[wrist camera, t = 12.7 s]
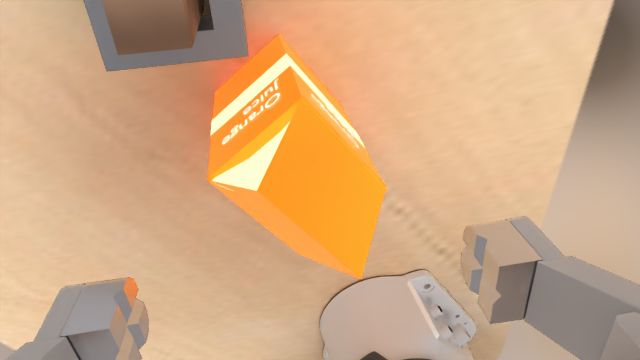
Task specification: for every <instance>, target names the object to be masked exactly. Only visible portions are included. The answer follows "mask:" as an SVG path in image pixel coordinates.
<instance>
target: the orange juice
mask: <svg viewBox="0 0 640 360" xmlns="http://www.w3.org/2000/svg"><path fill="white" fill-rule="evenodd" d="M210 135H211V142H210V153H209V164H208V175H207V179H208V180H207V181H208V182H210V183H211V184H212V185H213V186H215V187H216V188H217V189H218V190H220V191H221V192H222V193H223V194H225V195H226V196H227V197H228V198H230V199H231V200H232V201H233V202H235V203H236V204H237V205H238V206H240V207H241V208H242V209H243V210H245V211H246V212H247V213H248V214H250V215H251V216H252V217H253V218H255V219H256V220H257V221H258V222H260V223H261V224H262V225H263V226H265V227H266V228H267V229H268V230H270V231H271V232H272V233H273V234H275V235H276V236H277V237H278V238H279V239H281V240H282V241H283V242H284V243H286V244H287V245H288V246H289V247H291V248H292V249H293V250H294V251H296V252H297V253H298V254H300V255H303V256H305V257H308V258H310V259H312V260H315V261H317V262H320V263H322V264H325V265H327V266H330V267H332V268H335V269H337V270H339V271H342V272H344V273H347V274H349V275H352V276H354V277H357V278H359V279H361V277H362V273H363V270H364V266H365V262H366V259H367V255H368V252H369V248H370V244H371V241H372V237H373V233H374V230H375V226H376V222H377V219H378V215H379V212H380V208H381V204H382V201H383V197H384V193H385V191H386V190H387V188H386V185H385V184H384V182H383V181H382V179H381V177H380V175H379V173H378V171H377V170H376V168H375V166H374V164H373V162H372V160H371V159H370V157H369V155H368V153H367V151H366V149H365V146H364V145H363V143H362V141H361V139H360V137H359V135H358V134H357V132H356V131H355V129H354V127H353V126H352V124H351V122H350V120H349V118H348V116H347V115H346V113H345V111H344V109H343V107H342V105H341V104H340V103H339V102H338V101H337V100H336V99H335V97H334V96H333V95H332V94H331V93H330V92H329V91H328V89H327V88H326V87H325V86H324V85H323V84H322V83H321V82H320V80H319V79H318V78H317V77H316V76H315V75H314V74H313V72H312V71H311V70H310V69H309V68H308V67H307V66H306V64H305V63H304V62H303V61H302V60H301V59H300V58H299V56H298V55H297V54H296V53H295V52H294V51H293V50H292V48H291V47H290V46H289V45H288V44H287V43H286V42H285V40H284V39H283V38H282V37H281V36H280V35H279V34H278V35H277V36H276V37H275V38H274V39H273V40H272V41H271V42H270V43H268V44H267V45H266V46H265V47H264V48H263V49H262V50H261V51H260V52H259V53H258V54H256V55H255V56H254V57H253V58H252V59H251V60H250V61H249V62H248V63H247V64H246V65H244V66H243V67H242V68H241V69H240V70H239V71H238V72H237V73H236V74H235V75H234V76H232V77H231V78H230V79H229V80H228V81H227V82H226V83H225V84H224V85H223V86H222V87H220V88H219V89H218V90H217V91H216V92H215V98H214V109H213V120H212V123H211V133H210Z"/></svg>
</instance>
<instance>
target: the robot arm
mask: <svg viewBox="0 0 640 360" xmlns="http://www.w3.org/2000/svg"><path fill="white" fill-rule="evenodd" d="M463 240H464V242H465V243H466V245H467V247H466V248H465V249H464V251H463V252H462V253H461V268H462V274H463V277H464V279H465V282H466V284H467V286H468V287H469V289H470V290H471V291H473V292H475V293H477V294H478V295H479V296H478V305H479V306H480V308H481V310H482V311H483V313H484V315H485V316H486V318H487V320H488V321H489V323H490V324H493V323H500V322H507V321H514V320H522V319H525V322H527V323H528V324H530V325H531V326H533V327H534V328H536V329H537V330H538V331H540V332H541V333H543V334H544V335H546V336H547V337H549V338H550V339H552V340H553V341H554V342H556V343H557V344H559V345H560V346H562V347H563V348H564V349H566V350H567V351H569V352H570V353H572V354H573V355H575V356H576V357H577V358H579V359H580V360H640V285H639V284H637V283H634V282H632V281H630V280H627V279H624V278H622V277H620V276H618V275H615V274H613V273H611V272H608V271H606V270H604V269H601V268H599V267H596V266H594V265H592V264H589V263H587V262H585V261H582V260H580V259H577V258H575V257H573V256H569V257H565V256H564V255H563V254H562V253H561V252H560V251H559V249H558V248H557V247H556V246H555V245H554V244H553V243H552V242H551V241H550V240H549V239H548V238H547V237H546V236H545V234H543V232H542V231H541V230H540V229H539V228H538V227H537V226H536V225H535V224H534V223H533V222H532V221H531V220H530V219H529V218H528V217H525V216H523V217H517V218H511V219H506V220H502V221H496V222H490V223H483V224H477V225H471V226H466V228H465V230H464V234H463ZM137 292H138V287H137V285H136V283H135V281H134V279H133V278H130V277H127V278H119V279H112V280H104V281H96V282H89V283H83V284H76V285H68V286H65V287H63V288H62V289H61V290H60V291H59V293H58V295H57V297H56V299H55V301H54V303H53V305H52V306H51V308H50V310H49V312H48V314H47V316H46V318H45V320H44V322H43V324H42V326H41V328H40V329H39V331H38V333H37V335H36V337H35V339H34V341H33V342H28V343H25V344H24V345H23V346H22V347H20V348H19V349H18V350H17V351H15V352H14V353H13V354H12V355H10V356H9V357H8V358H7V359H5V360H142V357H141V354H140V352H139V349H140V348H141V347H142V346H143V345H144V344H145V343H146V341H147V336H148V331H149V319H148V313H147V309H146V307H145V304H144V302H142V301H140V300H139V299H137V298H136V296H137ZM476 330H477V327H476V324H475V322H474V321H473V319H472V318H471V317H470V316H469V315H468V314H467V313H466V312H465V311H464V309H463V308H462V307H461V306H460V305H459V304H458V303H457V302H456V301H455V300H454V299H453V297H452V296H451V295H450V294H449V293H448V292H447V291H446V290H445V289H444V288H443V287H442V285H441V284H440V283H439V282H438V281H437V280H436V279H435V278H434V277H433V276H432V275H431V273H430V272H428V271H427V270H419V271H415V272H412V273H409V274H406V275H403V276H387V277H377V278H372V279H368V280H364V281H361V282H359V283H356V284H354V285H352V286H350V287H348V288H347V289H345V290H343V291H342V292H341V293H339V294H338V295H337V296H336V297H335V298H333V299H332V301H331V302H330V303H329V304H328V305H327V307H326V308H325V310H324V312H323V314H322V317H321V320H320V332H321V335H322V337H323V340H324V343H325V346H324V350H323V358H324V360H474V359H473V356H472V354H471V351H470V349H469V347H468V345H467V344H468V343H469V342H470V340H471V339H472V338H473V336H474V334H475V332H476Z"/></svg>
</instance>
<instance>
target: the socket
mask: <svg viewBox="0 0 640 360" xmlns="http://www.w3.org/2000/svg"><path fill="white" fill-rule="evenodd" d="M84 3H85V6H86V9H87V12H88V15H89V18H90V22H91V25H92V28H93V31H94V34H95V37H96V40H97V43H98V46H99V49H100V52H101V55H102V59H103V62H104V65H105V68H106V71H117V70H126V69H135V68H145V67H154V66H163V65H172V64H182V63H191V62H200V61H209V60H219V59H228V58H237V57H246V56H248V47H247V38H246V31H245V24H244V17H243V10H242V3H241V0H209V4H210V10H211V15H210V16H201V18H200V22H199V26H198V29H197V33H196V36H195V40H194V43H193V47H192V48H186V49H176V50H167V51H157V52H147V53H137V54H127V55H118V53H117V50H116V47H115V44H114V40H113V37H112V34H111V30H110V27H109V24H108V20H107V17H106V14H105V10H104V7H103V4H102V0H84Z"/></svg>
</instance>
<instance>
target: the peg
mask: <svg viewBox="0 0 640 360" xmlns="http://www.w3.org/2000/svg"><path fill="white" fill-rule="evenodd" d="M102 4H103V7H104V10H105V14H106V17H107V20H108V24H109V27H110V30H111V34H112V37H113V40H114V44H115V47H116V50H117V53H118V55H127V54H137V53H147V52H157V51H167V50H176V49H186V48H192V47H193V43H194V40H195V36H196V33H197V29H198V26H199V22H200V18H201V15H202V11H203V8H204V5H203V0H102Z"/></svg>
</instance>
